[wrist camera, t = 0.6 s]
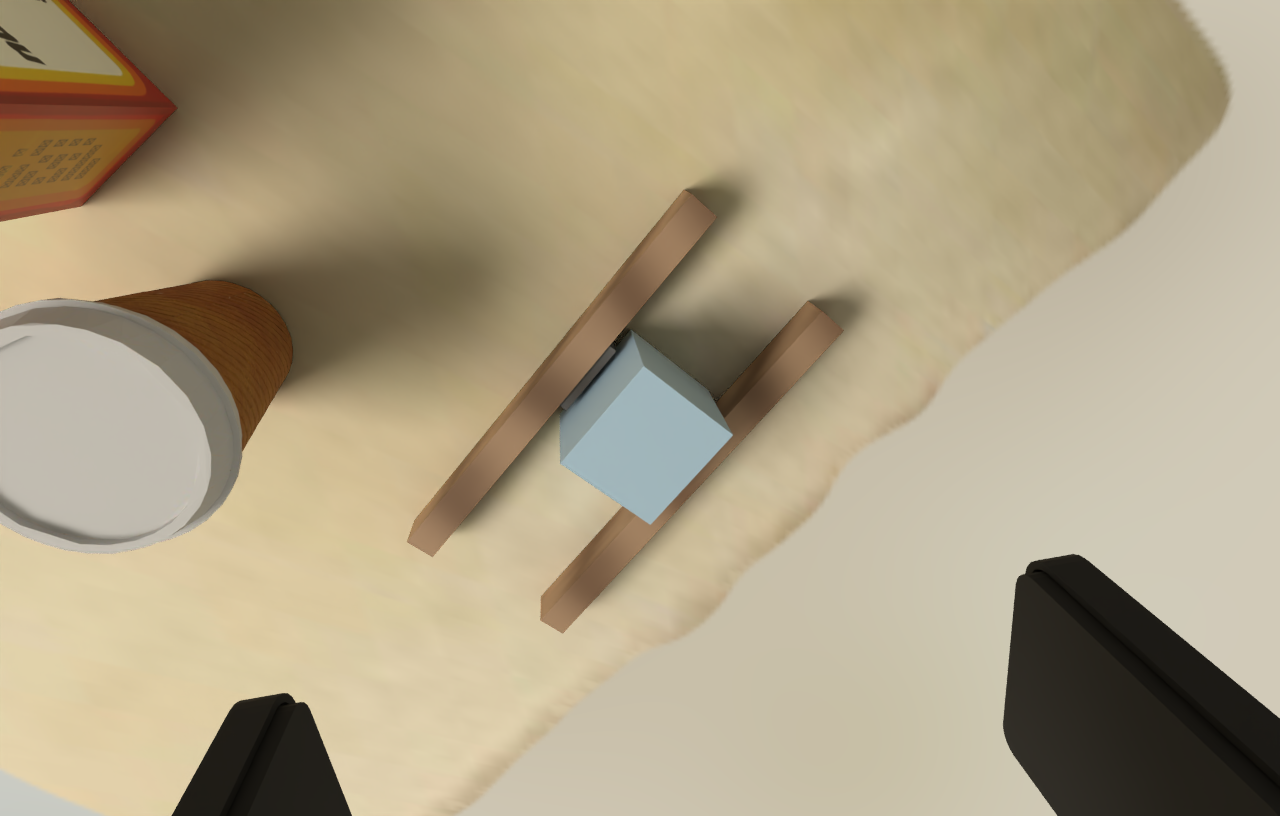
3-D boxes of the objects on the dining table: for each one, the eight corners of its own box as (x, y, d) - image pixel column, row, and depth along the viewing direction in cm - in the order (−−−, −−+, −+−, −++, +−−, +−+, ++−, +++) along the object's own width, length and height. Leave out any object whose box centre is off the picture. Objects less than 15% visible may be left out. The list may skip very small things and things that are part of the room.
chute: (684, 189, 35) (691, 194, 33) (828, 319, 38) (843, 330, 36) (414, 520, 40) (406, 541, 38) (562, 609, 43) (562, 633, 41)
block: (630, 329, 37) (643, 366, 32) (708, 389, 39) (733, 435, 33) (559, 413, 39) (560, 463, 33) (637, 468, 40) (650, 525, 35)
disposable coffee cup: (323, 256, 34) (212, 322, 23) (330, 437, 38) (236, 570, 27) (105, 235, 33) (-123, 294, 22) (133, 425, 36) (-52, 560, 25)
